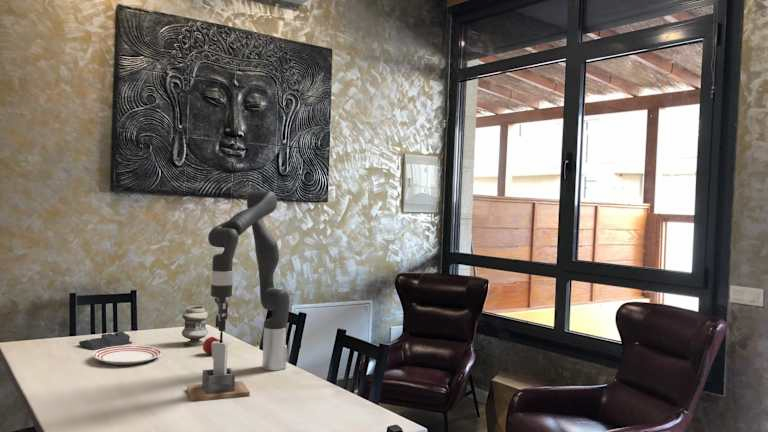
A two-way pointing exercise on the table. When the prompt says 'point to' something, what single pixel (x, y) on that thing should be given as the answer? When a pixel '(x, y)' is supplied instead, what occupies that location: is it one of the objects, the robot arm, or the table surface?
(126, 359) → the dinner plate
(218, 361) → the vintage mobile phone
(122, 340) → the dark slate chunk
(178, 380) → the table surface
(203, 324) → the apothecary jar
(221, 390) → the phone dock
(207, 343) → the apple
